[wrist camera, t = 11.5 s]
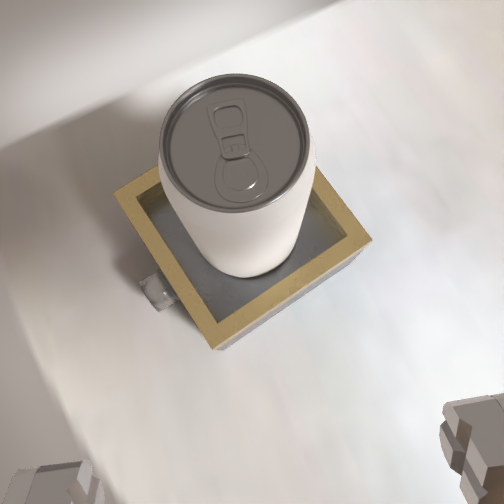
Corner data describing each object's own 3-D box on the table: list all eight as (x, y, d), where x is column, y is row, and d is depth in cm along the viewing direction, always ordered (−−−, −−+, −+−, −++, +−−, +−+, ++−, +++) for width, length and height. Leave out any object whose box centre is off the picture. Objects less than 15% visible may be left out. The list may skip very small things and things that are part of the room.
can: (205, 288, 28) (162, 240, 16) (186, 190, 29) (135, 81, 17) (308, 267, 28) (341, 203, 16) (285, 170, 29) (300, 48, 18)
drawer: (264, 148, 35) (264, 98, 28) (349, 263, 33) (372, 239, 26) (119, 240, 34) (83, 211, 27) (199, 366, 32) (181, 370, 25)
